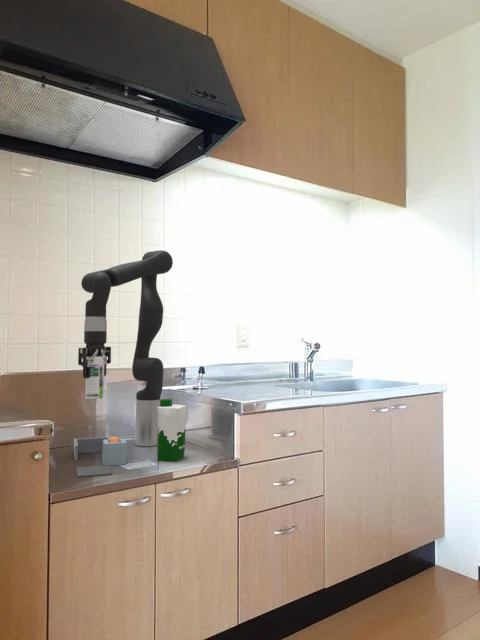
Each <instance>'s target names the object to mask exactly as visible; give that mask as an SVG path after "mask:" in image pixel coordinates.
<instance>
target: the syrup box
mask: <svg viewBox="0 0 480 640" xmlns="http://www.w3.org/2000/svg"><path fill="white" fill-rule="evenodd" d="M86 358H91V357H88V356H87V357H86ZM87 362H88V361H87V360H86V363H87ZM89 367H90V378H85V396H84V397H85V400H87V399H89V400H90V399H91V400H92V399H95V400H97V399H99V400H102V399H103V398H104V397H105V376H104V356H95V358H94V360H93V362H91V364H90V366H89Z"/></svg>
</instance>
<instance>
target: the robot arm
mask: <svg viewBox="0 0 480 640" xmlns="http://www.w3.org/2000/svg"><path fill="white" fill-rule="evenodd" d="M173 262H174V261H173V257H172V255H171V254H170V252H168V251H166V250H161V249H159V250H153V251H152V250H151V251H148V252H145V253H144V255H143V256H142V259H141V260H137V261H131V262H126V263H122V264H118V265H116V266H111V267H109V268H107V269H102V270H97V271H92V272H89V273H86V274H85V275H84V276H82V279H81V288H82V289H83V290H84V291H85V292H86V293H90V294H92V297H91V298H90V299H88V300H87V301H86V302H85V309H84V310H85V311H84V312H85V313H84V314H85V315H84V316H85V317H84V323H83V324H84V329H83V331H84V332H83V333H84V334H83V343H84V344H85V347H78V353H77V355H78V356H77V357H78V359H77V365H78V366H81V367H82V376H83V378H84V379H86V378H90V367H89V366H90V364H91V362H93V360H94V358H95V356H104V377H106V375H107V366H108V365H109V364H111V363H112V347H111V346H105V344H107V342H108V341H107V339H108V338H107V336H108V335H107V328H108V327H107V326H108V321H107V304H108V301H109V298H110V297H109V296H110V293H111V289H112V287H113V288H115V287H119V286H121V285H124V284H125V285H126V284H127V283H130V282H133V281H135V280H138V279H140V280H141V284H140V285H141V289H140V304H139V305H140V306H139V312H138V326H137V328H138V329H137V335H136V336H137V338H136V344H135V350H134V354H133V359H132V367H131V368H132V369H131V371H132V372H131V373H132V376H133V378H134V379H135V380H136V381H140V382H146V383H145V387H144V388H142V389H141V390H138V391H136V393H135V394H136V395H135V437H134V439H135V441H134V442H135V443H134V445H136V446H139V447H155V446H157V444H158V412H157V407H158V406H160V400H161V396H162V392H163V384H164V383H163V382H164V364H163V362H162V360H161V359H160V358H157V357H150V351H151V350H150V349H151V346H152V343H153V341H154V339H155V338H156V337H157V335H158V333H159V332H160V330H161V328H162V326H163V319H164V306H163V301H162V299H161V296H160V295H159V292H158V289H157V288H158V287H157V278H158V275H163V274H167V273H169V271H170V270H171V269H172V268H173V264H174V263H173ZM87 356H88V357H91V358H86V357H87ZM86 360H87V361H88V362H87V363H86Z"/></svg>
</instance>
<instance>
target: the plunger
mask: <svg viewBox="0 0 480 640" xmlns="http://www.w3.org/2000/svg"><path fill="white" fill-rule="evenodd" d="M109 437H110V443H113V442H119V439H120V437H119V436H109Z"/></svg>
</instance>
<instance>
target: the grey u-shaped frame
mask: <svg viewBox="0 0 480 640" xmlns="http://www.w3.org/2000/svg"><path fill="white" fill-rule="evenodd" d="M110 437H111V436H106V437H105V436H104V437H102V436H101V437H85V438H84V437H83V438H73V460H74V461H76V462H77V461H79V459H78V457H79V454H90V453H91V454H94V453H102V450H103V440H105V439H110Z"/></svg>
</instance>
